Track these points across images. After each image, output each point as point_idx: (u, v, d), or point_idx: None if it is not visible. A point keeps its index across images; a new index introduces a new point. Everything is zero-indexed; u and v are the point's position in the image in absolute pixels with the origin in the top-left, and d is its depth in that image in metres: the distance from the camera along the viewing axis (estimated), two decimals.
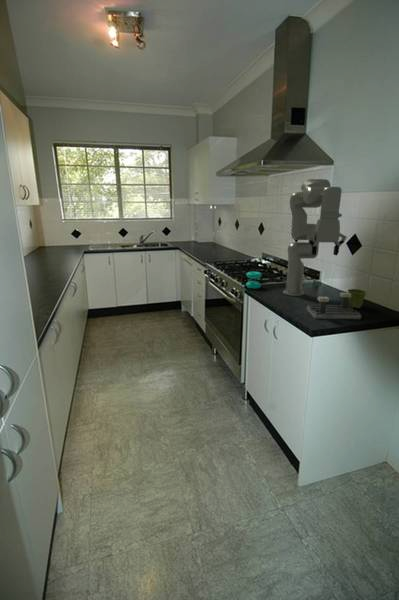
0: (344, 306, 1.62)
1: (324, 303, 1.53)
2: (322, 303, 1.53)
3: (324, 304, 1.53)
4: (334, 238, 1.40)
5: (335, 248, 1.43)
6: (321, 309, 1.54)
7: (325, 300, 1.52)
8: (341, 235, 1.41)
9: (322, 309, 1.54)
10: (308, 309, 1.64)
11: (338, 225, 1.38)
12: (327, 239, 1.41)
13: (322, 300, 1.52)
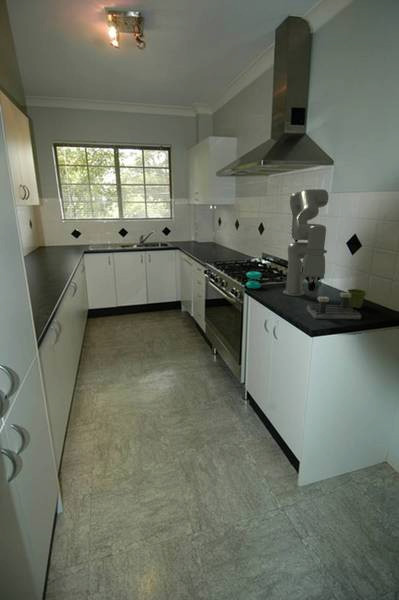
0: (344, 306, 1.62)
1: (324, 303, 1.53)
2: (322, 303, 1.53)
3: (324, 304, 1.53)
4: (320, 273, 1.47)
5: None
6: (321, 309, 1.54)
7: (325, 300, 1.52)
8: None
9: (322, 309, 1.54)
10: (308, 309, 1.64)
11: (323, 261, 1.46)
12: (313, 274, 1.48)
13: (322, 300, 1.52)
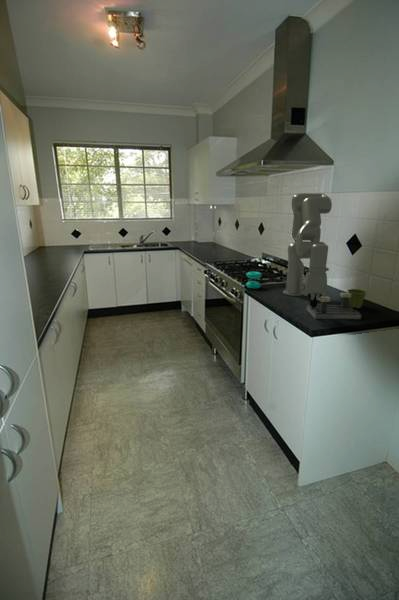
0: (344, 306, 1.62)
1: (325, 303, 1.53)
2: (323, 303, 1.53)
3: (325, 304, 1.53)
4: (322, 290, 1.50)
5: None
6: (322, 309, 1.54)
7: (326, 300, 1.52)
8: None
9: (323, 309, 1.54)
10: (308, 309, 1.64)
11: (325, 279, 1.49)
12: (315, 291, 1.51)
13: (323, 300, 1.52)
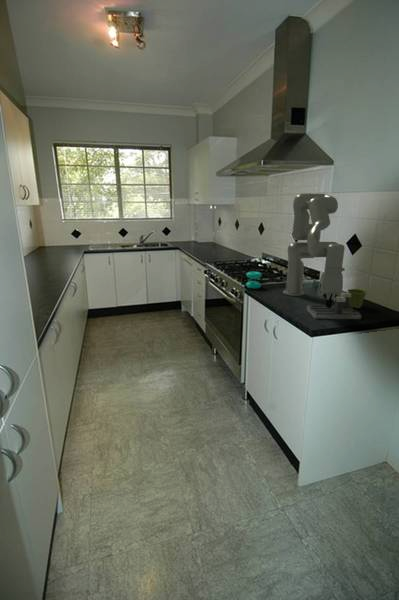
0: (344, 306, 1.62)
1: (340, 303, 1.53)
2: (338, 303, 1.53)
3: (340, 304, 1.53)
4: (337, 290, 1.50)
5: None
6: (337, 309, 1.54)
7: (342, 300, 1.52)
8: None
9: (339, 309, 1.54)
10: (308, 309, 1.64)
11: (341, 279, 1.48)
12: (331, 291, 1.50)
13: (339, 300, 1.52)
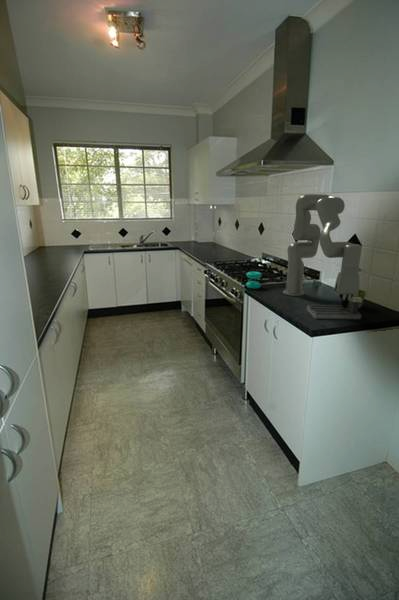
0: None
1: (357, 303, 1.53)
2: (354, 303, 1.53)
3: (356, 304, 1.53)
4: (354, 291, 1.50)
5: None
6: (353, 309, 1.54)
7: (358, 300, 1.52)
8: None
9: (355, 309, 1.54)
10: (308, 309, 1.64)
11: (358, 279, 1.48)
12: (347, 291, 1.50)
13: (355, 300, 1.52)
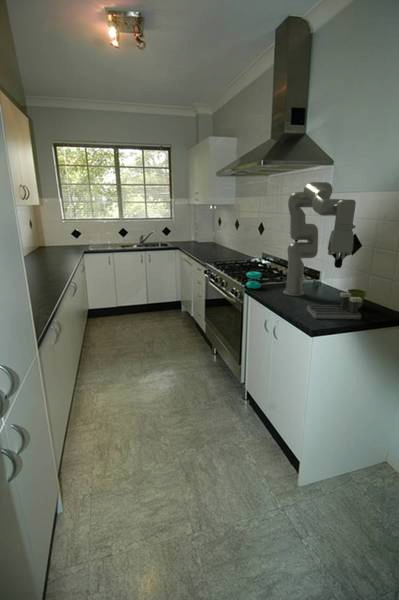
0: (344, 306, 1.62)
1: (356, 303, 1.53)
2: (354, 303, 1.53)
3: (356, 304, 1.53)
4: (348, 249, 1.44)
5: None
6: (353, 309, 1.54)
7: (358, 300, 1.52)
8: None
9: (355, 309, 1.54)
10: (308, 309, 1.64)
11: (352, 236, 1.43)
12: (341, 250, 1.45)
13: (355, 300, 1.52)
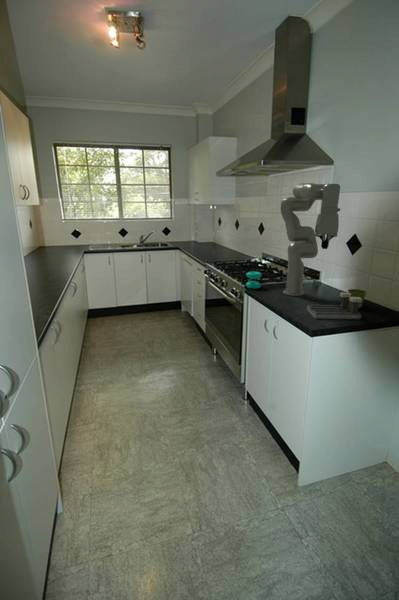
0: (344, 306, 1.62)
1: (356, 303, 1.53)
2: (354, 303, 1.53)
3: (356, 304, 1.53)
4: (333, 230, 1.54)
5: None
6: (353, 309, 1.54)
7: (358, 300, 1.52)
8: None
9: (355, 309, 1.54)
10: (308, 309, 1.64)
11: (337, 219, 1.52)
12: (327, 232, 1.54)
13: (355, 300, 1.52)
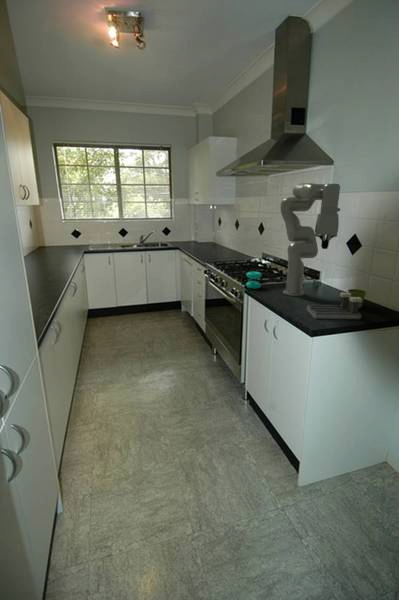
0: (344, 306, 1.62)
1: (356, 303, 1.53)
2: (354, 303, 1.53)
3: (356, 304, 1.53)
4: (333, 230, 1.54)
5: None
6: (353, 309, 1.54)
7: (358, 300, 1.52)
8: None
9: (355, 309, 1.54)
10: (308, 309, 1.64)
11: (337, 219, 1.52)
12: (327, 231, 1.54)
13: (355, 300, 1.52)
